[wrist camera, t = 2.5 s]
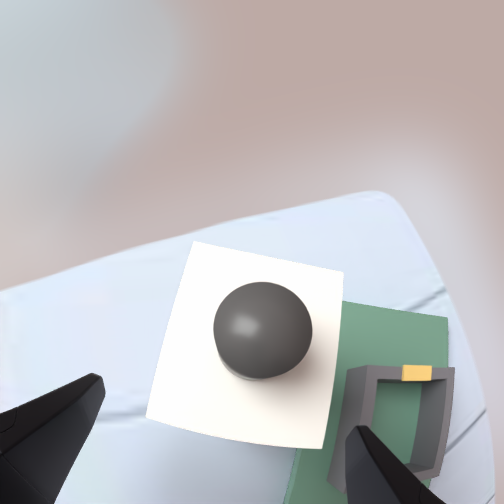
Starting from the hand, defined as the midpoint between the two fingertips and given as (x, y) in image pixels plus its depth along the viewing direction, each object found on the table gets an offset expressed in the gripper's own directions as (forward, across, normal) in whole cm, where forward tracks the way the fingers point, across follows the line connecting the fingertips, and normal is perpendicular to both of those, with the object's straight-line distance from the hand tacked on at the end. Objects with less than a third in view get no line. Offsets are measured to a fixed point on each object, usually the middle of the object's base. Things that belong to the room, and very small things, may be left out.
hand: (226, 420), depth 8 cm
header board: (+6, -11, +7) cm, 15 cm away
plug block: (+8, 0, +5) cm, 10 cm away
